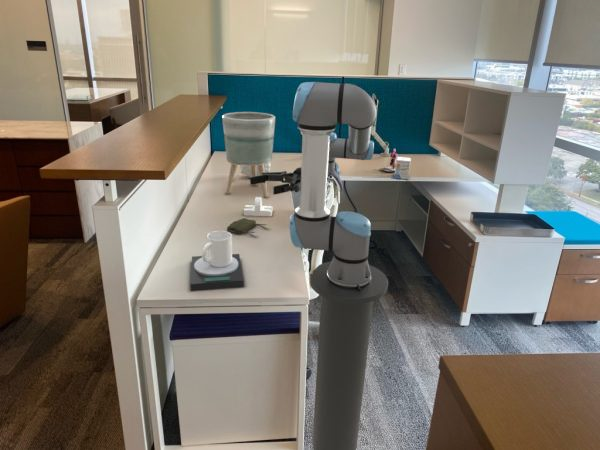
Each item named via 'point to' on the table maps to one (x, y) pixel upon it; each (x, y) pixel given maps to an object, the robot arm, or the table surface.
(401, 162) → the ink box
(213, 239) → the mug
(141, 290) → the table surface
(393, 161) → the statue
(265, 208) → the slotted bracket
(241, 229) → the landmine
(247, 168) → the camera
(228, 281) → the scale
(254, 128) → the planter
